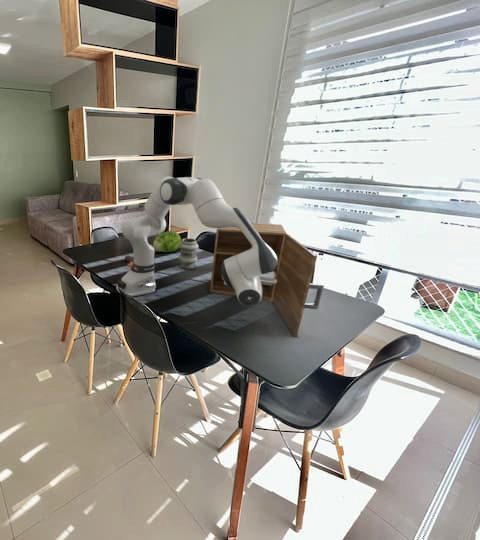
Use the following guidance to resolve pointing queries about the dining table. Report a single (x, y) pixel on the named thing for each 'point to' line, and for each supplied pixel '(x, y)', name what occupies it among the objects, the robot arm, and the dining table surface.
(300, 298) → the cabinet door
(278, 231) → the cabinet
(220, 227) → the robot arm
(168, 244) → the lettuce
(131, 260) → the ice cream bar
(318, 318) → the dining table surface
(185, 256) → the ribbed grey vase
